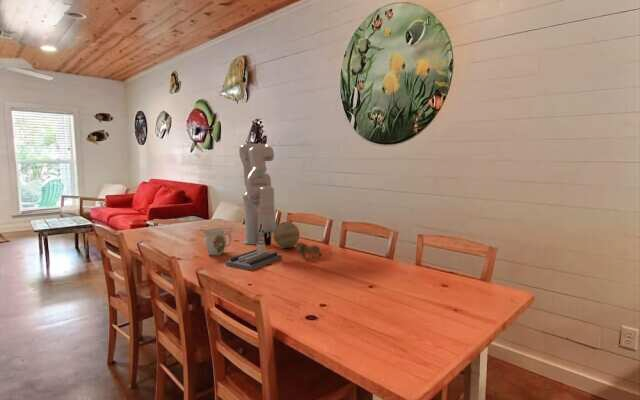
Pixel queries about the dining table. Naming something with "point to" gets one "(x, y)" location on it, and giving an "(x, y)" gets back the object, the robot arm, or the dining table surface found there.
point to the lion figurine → (307, 249)
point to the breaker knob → (260, 247)
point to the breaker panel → (251, 267)
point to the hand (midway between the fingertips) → (267, 244)
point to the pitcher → (216, 240)
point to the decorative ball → (286, 235)
